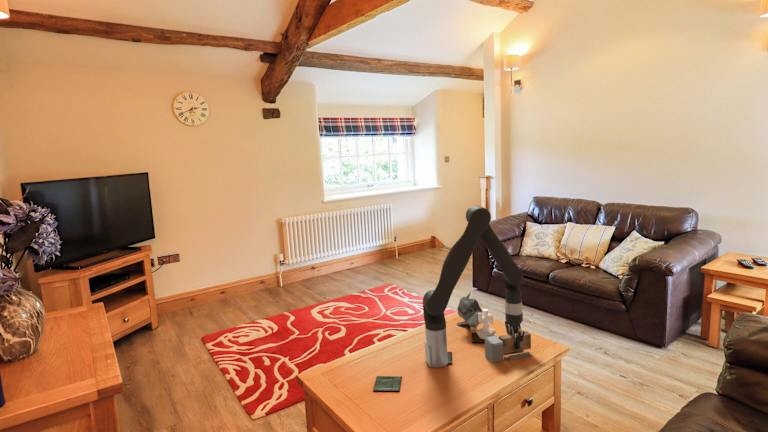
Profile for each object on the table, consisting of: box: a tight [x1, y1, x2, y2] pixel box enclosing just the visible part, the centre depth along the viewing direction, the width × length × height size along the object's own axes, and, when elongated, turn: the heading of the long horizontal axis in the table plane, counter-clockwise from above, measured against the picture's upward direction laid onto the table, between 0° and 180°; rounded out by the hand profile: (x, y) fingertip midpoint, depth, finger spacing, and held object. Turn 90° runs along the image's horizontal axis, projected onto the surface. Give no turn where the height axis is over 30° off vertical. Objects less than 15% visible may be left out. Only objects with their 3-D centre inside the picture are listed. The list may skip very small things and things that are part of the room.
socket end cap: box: [484, 335, 504, 364], centre depth 192 cm, size 6×7×9 cm
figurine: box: [475, 307, 497, 341], centre depth 212 cm, size 7×9×15 cm
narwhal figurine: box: [456, 292, 482, 333], centre depth 223 cm, size 14×15×18 cm
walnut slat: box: [498, 330, 532, 355], centre depth 194 cm, size 14×3×7 cm, turn 102°
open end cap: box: [508, 351, 531, 361], centre depth 195 cm, size 10×7×2 cm
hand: (514, 346), depth 194 cm, fingers closed on walnut slat, 3 cm apart
